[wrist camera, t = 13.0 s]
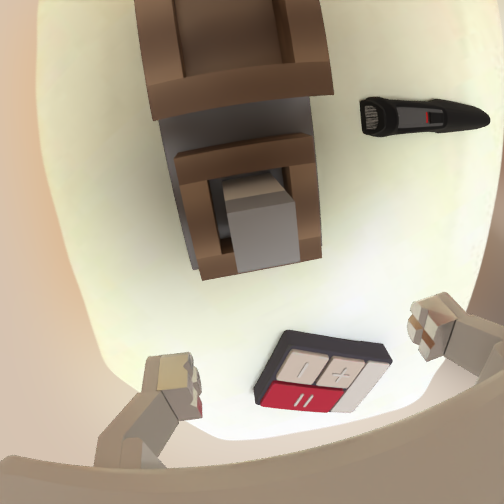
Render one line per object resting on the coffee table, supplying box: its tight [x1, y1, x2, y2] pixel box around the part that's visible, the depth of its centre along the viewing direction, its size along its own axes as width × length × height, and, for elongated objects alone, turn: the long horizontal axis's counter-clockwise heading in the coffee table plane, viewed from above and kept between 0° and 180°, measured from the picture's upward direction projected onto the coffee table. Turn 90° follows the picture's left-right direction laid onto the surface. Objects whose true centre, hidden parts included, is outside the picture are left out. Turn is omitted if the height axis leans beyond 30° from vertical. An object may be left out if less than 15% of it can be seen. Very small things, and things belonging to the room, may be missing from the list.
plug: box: [222, 173, 300, 273], centre depth 23 cm, size 4×4×8 cm
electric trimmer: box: [360, 97, 490, 137], centre depth 25 cm, size 4×16×3 cm, turn 98°
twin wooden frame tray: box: [134, 0, 334, 281], centre depth 20 cm, size 24×12×10 cm, turn 8°
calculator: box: [254, 330, 392, 413], centre depth 38 cm, size 11×4×15 cm
